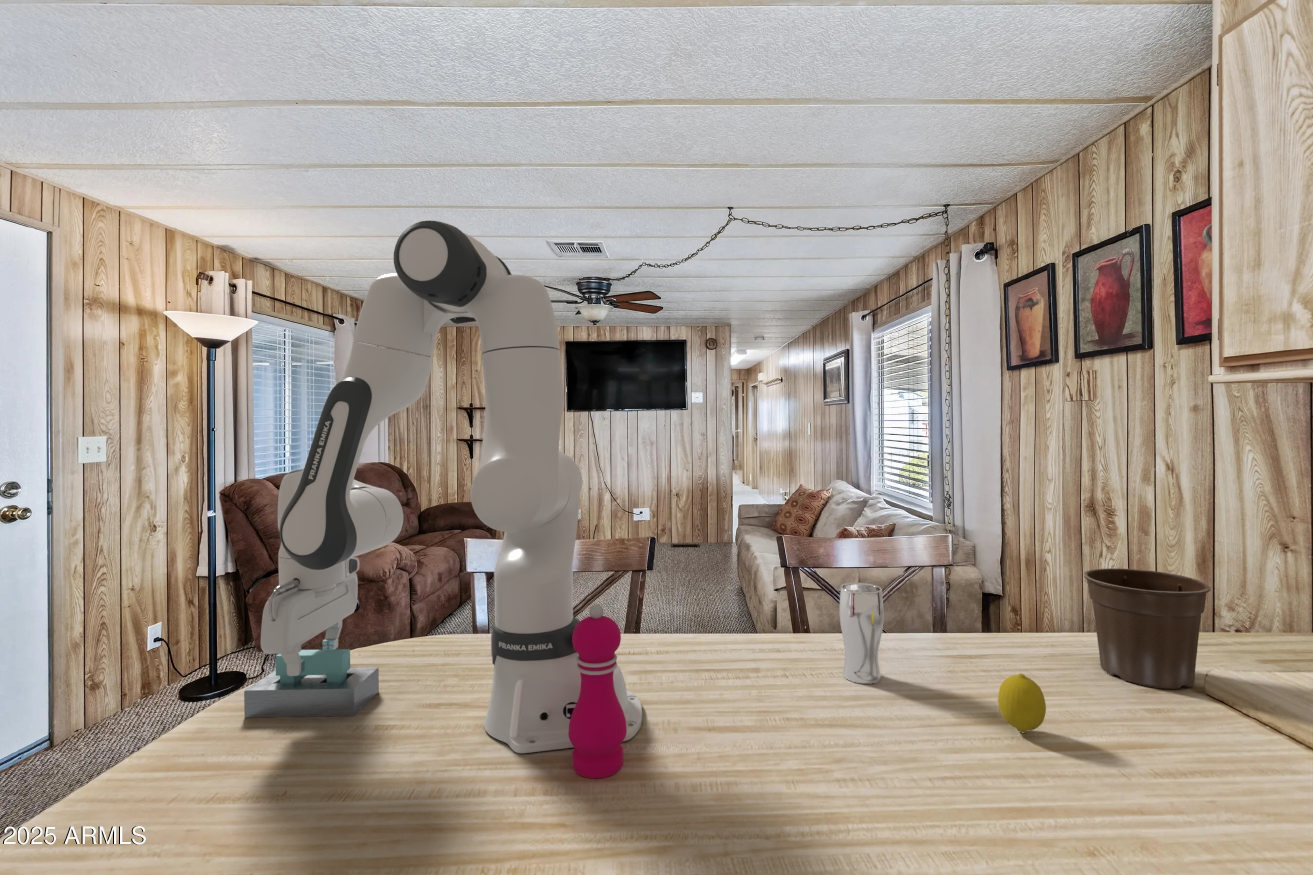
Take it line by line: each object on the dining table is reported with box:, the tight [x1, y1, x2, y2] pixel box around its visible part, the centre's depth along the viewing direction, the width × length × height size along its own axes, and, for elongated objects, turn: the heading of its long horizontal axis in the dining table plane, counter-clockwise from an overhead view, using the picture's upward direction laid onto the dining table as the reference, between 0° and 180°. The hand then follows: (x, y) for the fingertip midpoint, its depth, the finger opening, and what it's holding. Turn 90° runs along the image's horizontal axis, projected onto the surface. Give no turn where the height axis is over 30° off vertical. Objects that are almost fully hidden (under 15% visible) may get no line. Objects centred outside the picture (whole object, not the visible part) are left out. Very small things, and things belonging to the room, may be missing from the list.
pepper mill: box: [568, 603, 627, 779], centre depth 74 cm, size 7×7×20 cm
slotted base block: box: [243, 666, 380, 719], centre depth 92 cm, size 16×8×4 cm, turn 91°
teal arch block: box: [275, 648, 351, 684], centre depth 92 cm, size 10×2×8 cm, turn 91°
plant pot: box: [1083, 567, 1211, 690], centre depth 99 cm, size 16×16×16 cm
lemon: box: [997, 673, 1047, 733], centre depth 81 cm, size 6×6×8 cm
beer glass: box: [839, 582, 884, 685], centre depth 100 cm, size 7×7×15 cm
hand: (314, 661), depth 92 cm, fingers open, 8 cm apart
